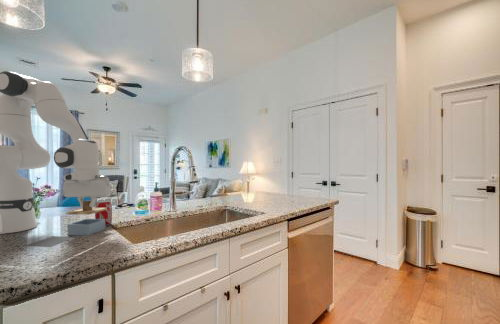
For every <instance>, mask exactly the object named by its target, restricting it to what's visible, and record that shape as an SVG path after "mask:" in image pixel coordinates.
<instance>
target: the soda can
mask: <svg viewBox="0 0 500 324" xmlns="http://www.w3.org/2000/svg"><path fill="white" fill-rule="evenodd" d="M112 206H113V205H112V202H111V200H108V199H105V200H104V199H103V200H96V202H95V206H94V208H107V210H103V211H100V212H96V213H94V219H105V227H108V226H110V225H111V224H112V222H113V214H112V213H113V207H112Z"/></svg>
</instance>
